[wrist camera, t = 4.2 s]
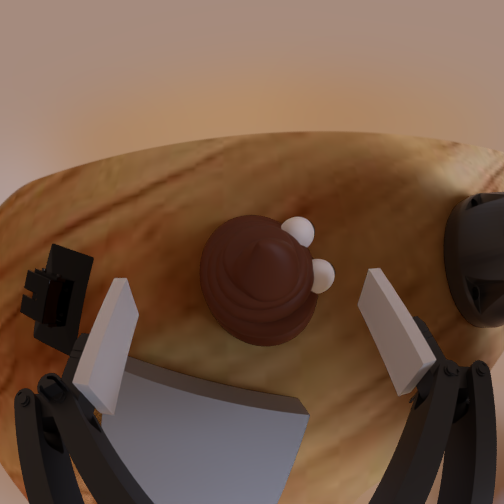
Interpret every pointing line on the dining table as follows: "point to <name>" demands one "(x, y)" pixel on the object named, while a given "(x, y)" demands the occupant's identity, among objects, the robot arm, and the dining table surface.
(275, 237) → the poop emoji
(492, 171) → the dining table surface
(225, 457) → the grey block
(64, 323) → the black mounting bracket
